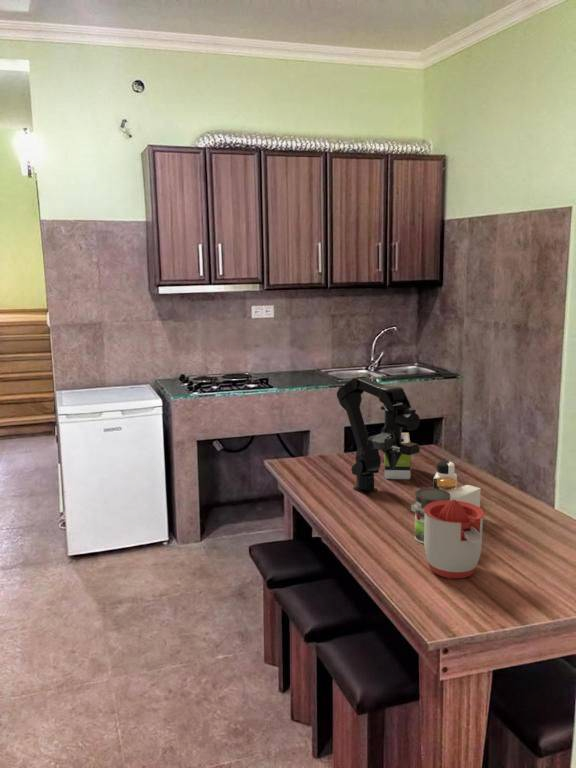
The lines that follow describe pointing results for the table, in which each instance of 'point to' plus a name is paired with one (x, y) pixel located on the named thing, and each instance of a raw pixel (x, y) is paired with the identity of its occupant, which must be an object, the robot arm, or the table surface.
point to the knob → (446, 483)
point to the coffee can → (421, 501)
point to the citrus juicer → (453, 537)
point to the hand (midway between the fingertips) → (392, 468)
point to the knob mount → (463, 495)
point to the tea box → (399, 464)
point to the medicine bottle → (444, 472)
